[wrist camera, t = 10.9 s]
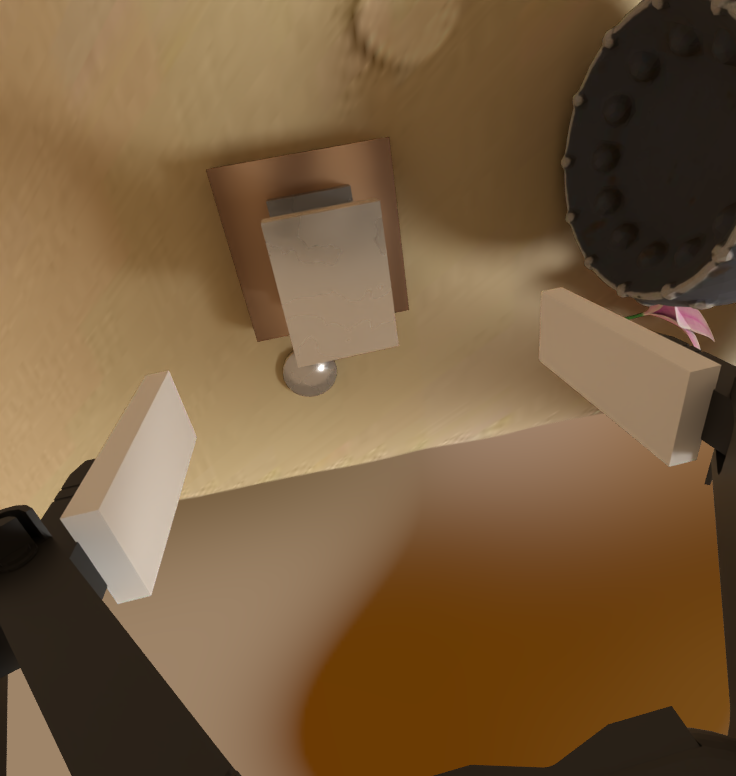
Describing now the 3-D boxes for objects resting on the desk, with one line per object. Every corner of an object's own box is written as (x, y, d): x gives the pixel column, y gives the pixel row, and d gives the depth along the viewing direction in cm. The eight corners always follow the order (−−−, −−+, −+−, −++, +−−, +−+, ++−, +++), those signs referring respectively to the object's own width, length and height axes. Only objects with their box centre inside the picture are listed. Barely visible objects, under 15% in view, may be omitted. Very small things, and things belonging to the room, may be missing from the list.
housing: (347, 184, 33) (379, 200, 22) (364, 289, 37) (399, 346, 26) (266, 199, 32) (260, 223, 22) (292, 304, 36) (298, 367, 26)
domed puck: (329, 338, 42) (330, 342, 41) (340, 385, 44) (341, 389, 43) (276, 350, 41) (276, 355, 41) (290, 396, 44) (290, 401, 43)
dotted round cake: (546, 279, 42) (732, 369, 25) (557, 10, 33) (875, -150, 15) (651, 256, 43) (902, 329, 26) (692, -12, 33) (1142, -188, 16)
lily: (665, 337, 49) (772, 327, 41) (599, 390, 45) (702, 392, 36) (628, 235, 47) (733, 200, 38) (555, 282, 43) (653, 255, 34)
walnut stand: (380, 138, 34) (389, 137, 32) (400, 299, 41) (408, 309, 38) (211, 168, 33) (205, 170, 31) (259, 329, 40) (257, 341, 37)
